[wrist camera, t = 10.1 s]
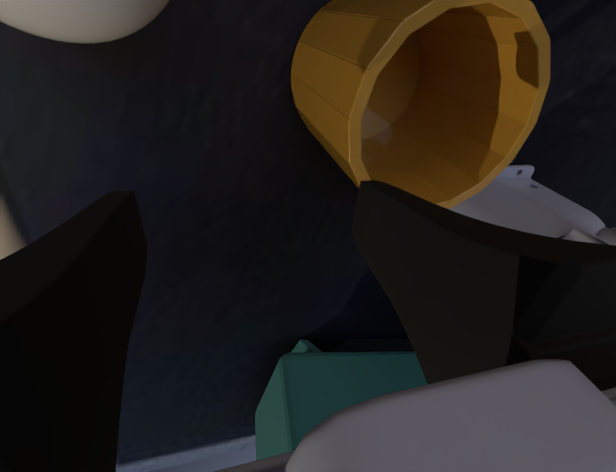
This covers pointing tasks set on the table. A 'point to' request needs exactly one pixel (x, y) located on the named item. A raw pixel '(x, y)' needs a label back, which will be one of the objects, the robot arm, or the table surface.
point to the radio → (325, 390)
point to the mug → (423, 89)
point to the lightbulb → (80, 18)
